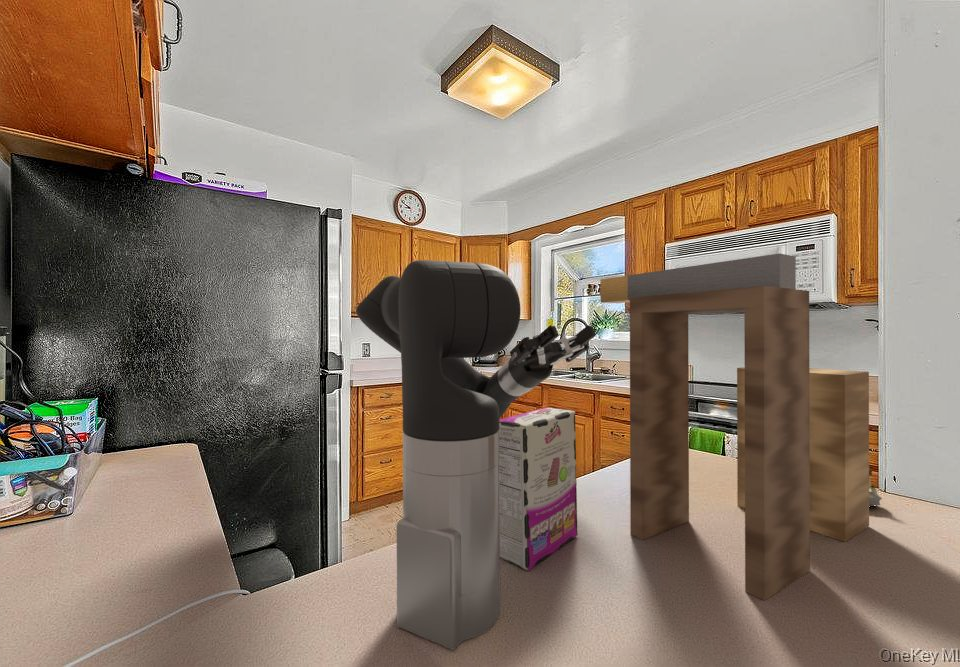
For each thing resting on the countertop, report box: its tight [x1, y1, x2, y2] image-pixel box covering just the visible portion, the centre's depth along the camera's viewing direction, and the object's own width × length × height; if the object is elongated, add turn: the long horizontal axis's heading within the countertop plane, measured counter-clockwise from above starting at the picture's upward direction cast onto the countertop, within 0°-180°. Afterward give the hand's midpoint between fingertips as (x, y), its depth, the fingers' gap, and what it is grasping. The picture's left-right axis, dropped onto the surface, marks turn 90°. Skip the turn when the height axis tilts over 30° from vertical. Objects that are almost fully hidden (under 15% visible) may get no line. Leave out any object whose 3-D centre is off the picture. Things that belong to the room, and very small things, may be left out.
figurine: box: [869, 468, 883, 506], centre depth 64 cm, size 5×4×6 cm
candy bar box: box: [499, 407, 579, 571], centre depth 52 cm, size 11×5×16 cm, turn 137°
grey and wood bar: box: [600, 253, 797, 304], centre depth 54 cm, size 24×4×4 cm, turn 31°
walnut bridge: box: [629, 286, 811, 601], centre depth 51 cm, size 10×16×31 cm, turn 31°
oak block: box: [736, 366, 870, 543], centre depth 60 cm, size 13×8×21 cm, turn 31°
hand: (574, 329), depth 71 cm, fingers open, 8 cm apart
